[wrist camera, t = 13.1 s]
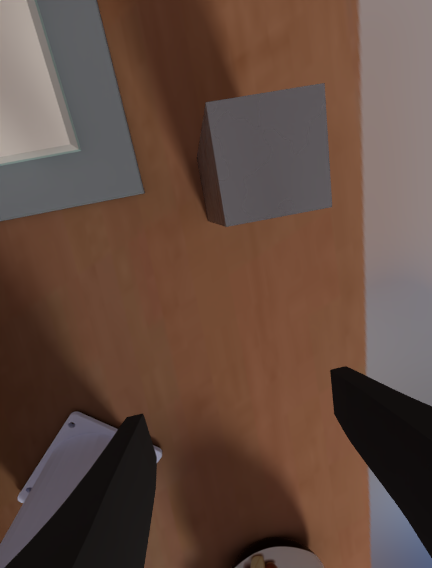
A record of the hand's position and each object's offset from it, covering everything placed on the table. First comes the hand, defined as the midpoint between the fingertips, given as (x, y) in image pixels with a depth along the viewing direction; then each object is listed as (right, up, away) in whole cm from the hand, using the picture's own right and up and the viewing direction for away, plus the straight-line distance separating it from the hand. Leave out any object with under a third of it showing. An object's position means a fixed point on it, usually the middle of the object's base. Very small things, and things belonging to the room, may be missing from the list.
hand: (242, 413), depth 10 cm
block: (0, +11, +8) cm, 14 cm away
